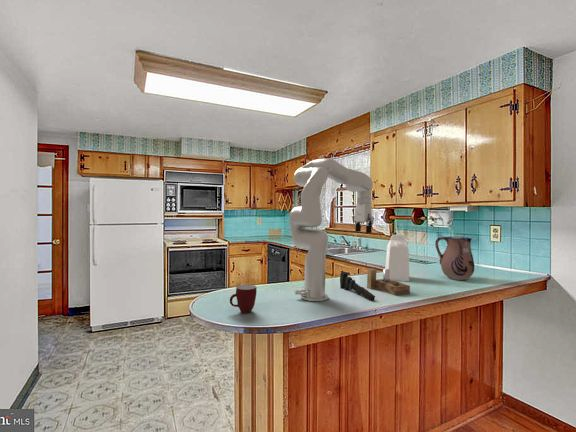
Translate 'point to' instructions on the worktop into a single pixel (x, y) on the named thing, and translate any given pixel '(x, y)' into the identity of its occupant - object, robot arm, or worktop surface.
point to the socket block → (393, 287)
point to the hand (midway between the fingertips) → (363, 232)
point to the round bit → (386, 275)
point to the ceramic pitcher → (456, 258)
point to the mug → (245, 297)
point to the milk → (398, 258)
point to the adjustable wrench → (354, 286)
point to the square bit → (371, 278)
